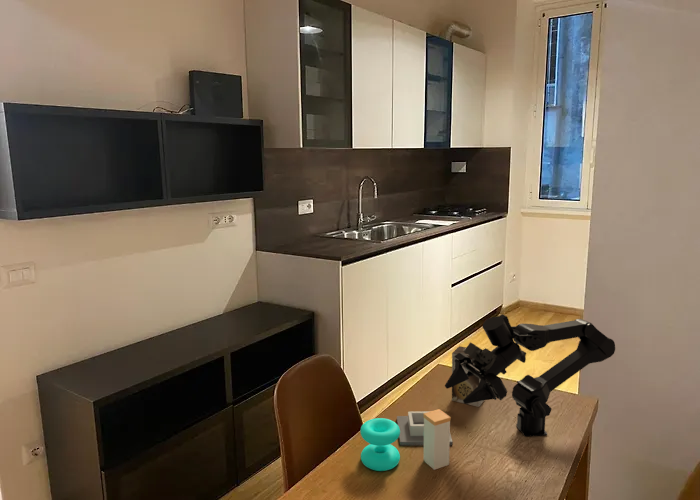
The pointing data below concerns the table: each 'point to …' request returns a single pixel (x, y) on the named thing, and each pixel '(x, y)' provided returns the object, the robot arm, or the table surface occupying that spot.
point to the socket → (412, 428)
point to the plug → (436, 438)
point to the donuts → (380, 444)
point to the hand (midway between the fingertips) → (454, 394)
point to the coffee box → (467, 386)
